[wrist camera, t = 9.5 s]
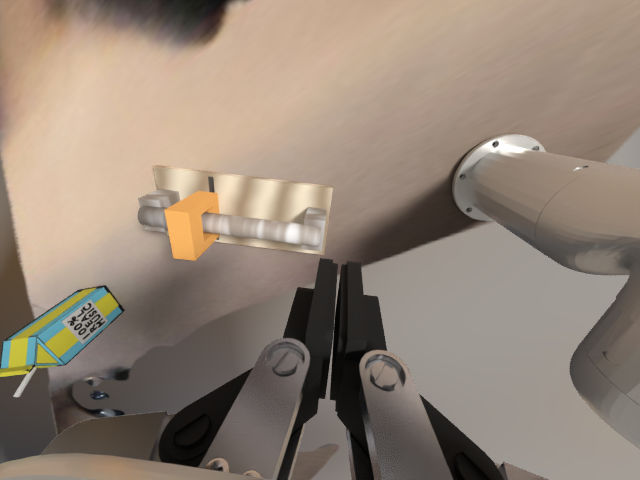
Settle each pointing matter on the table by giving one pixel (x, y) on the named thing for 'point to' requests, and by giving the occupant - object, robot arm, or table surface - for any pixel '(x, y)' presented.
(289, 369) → the robot arm
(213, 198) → the collar
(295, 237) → the pipe rig
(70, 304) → the carton
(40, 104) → the table surface
